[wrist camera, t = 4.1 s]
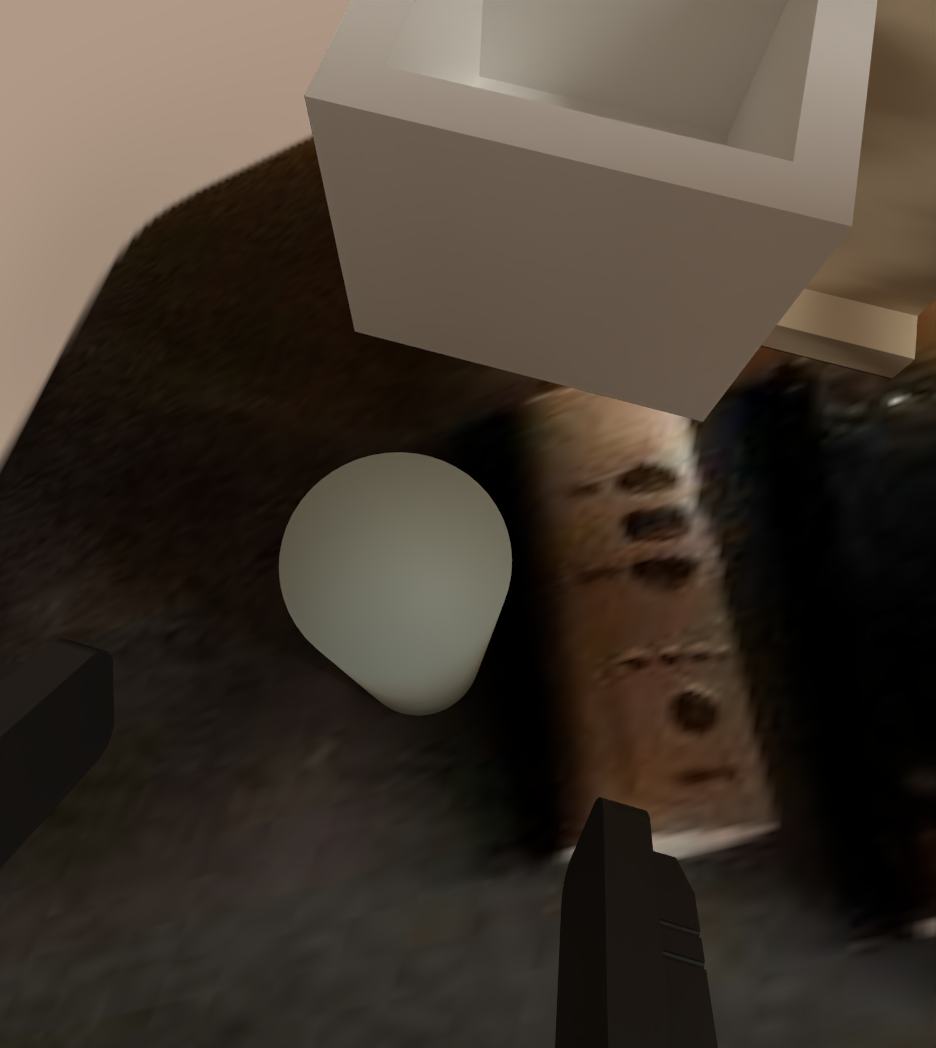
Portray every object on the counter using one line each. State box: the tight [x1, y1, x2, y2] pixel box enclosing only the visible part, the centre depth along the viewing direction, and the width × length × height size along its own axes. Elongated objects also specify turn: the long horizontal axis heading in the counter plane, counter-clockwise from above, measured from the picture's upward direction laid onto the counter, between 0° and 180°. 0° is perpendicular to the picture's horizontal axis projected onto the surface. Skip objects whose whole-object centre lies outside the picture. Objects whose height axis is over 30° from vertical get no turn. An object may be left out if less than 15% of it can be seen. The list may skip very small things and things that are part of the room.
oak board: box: [761, 0, 936, 378], centre depth 16 cm, size 16×4×18 cm, turn 74°
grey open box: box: [305, 0, 877, 421], centre depth 15 cm, size 9×9×6 cm
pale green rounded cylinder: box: [279, 452, 512, 716], centre depth 15 cm, size 4×4×10 cm
